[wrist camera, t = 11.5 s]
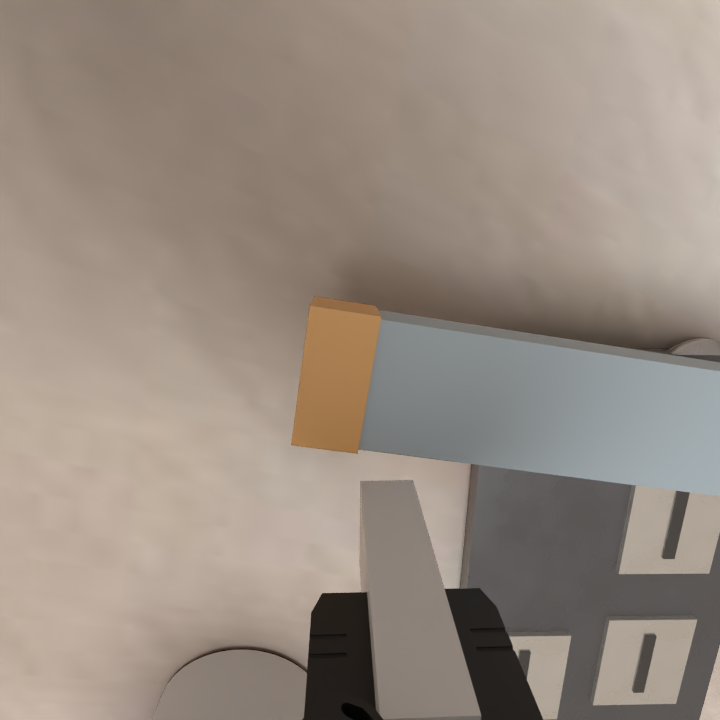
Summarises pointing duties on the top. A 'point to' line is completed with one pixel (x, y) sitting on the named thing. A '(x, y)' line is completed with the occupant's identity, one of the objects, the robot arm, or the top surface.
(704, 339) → the post
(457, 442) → the grey long bar
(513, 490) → the slotted grey board
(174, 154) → the top surface
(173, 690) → the container
